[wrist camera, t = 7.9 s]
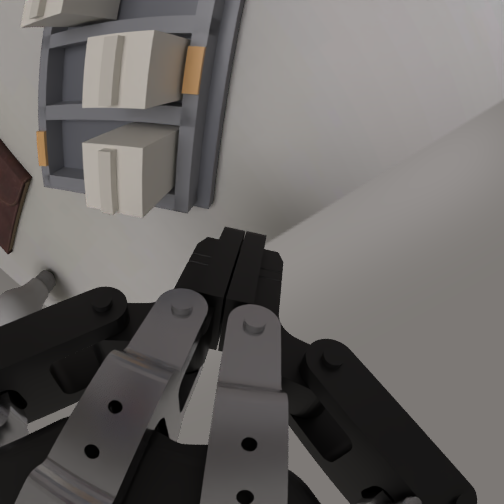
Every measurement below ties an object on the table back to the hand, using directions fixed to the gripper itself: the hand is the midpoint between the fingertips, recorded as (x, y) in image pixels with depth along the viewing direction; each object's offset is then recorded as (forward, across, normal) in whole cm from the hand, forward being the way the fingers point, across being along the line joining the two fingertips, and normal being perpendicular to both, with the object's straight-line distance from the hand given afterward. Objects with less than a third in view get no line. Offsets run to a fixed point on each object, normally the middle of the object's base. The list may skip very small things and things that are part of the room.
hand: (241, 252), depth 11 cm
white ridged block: (+10, +14, -12) cm, 21 cm away
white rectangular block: (+10, +8, -6) cm, 14 cm away
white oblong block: (+10, +8, 0) cm, 13 cm away
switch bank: (+12, +12, -6) cm, 17 cm away
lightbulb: (+12, +25, +18) cm, 33 cm away
